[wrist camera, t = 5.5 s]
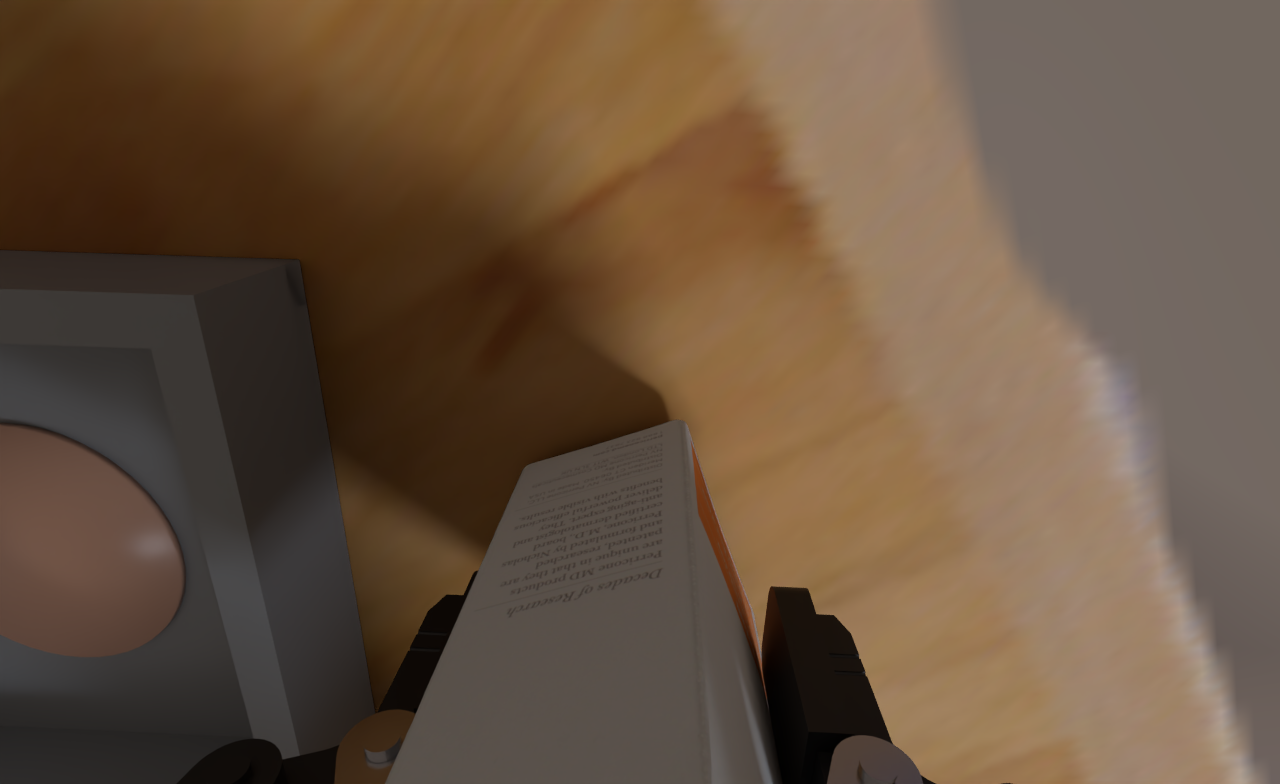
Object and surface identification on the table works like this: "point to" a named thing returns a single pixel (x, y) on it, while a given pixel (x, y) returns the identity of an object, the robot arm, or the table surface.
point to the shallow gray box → (166, 520)
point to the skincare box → (601, 636)
